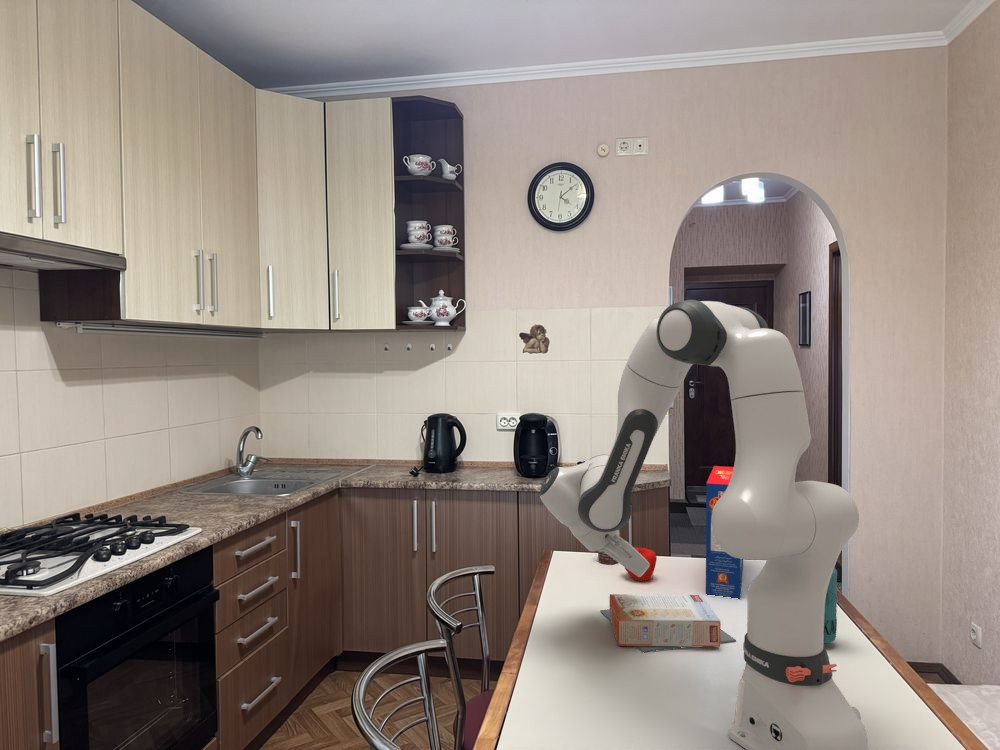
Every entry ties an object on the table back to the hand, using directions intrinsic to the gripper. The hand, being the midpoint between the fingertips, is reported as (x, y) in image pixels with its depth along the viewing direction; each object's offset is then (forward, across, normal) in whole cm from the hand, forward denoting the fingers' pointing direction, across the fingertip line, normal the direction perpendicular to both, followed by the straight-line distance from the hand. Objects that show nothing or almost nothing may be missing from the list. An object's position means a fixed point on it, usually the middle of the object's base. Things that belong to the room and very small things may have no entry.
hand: (640, 572), depth 144 cm
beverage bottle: (+32, -16, -14) cm, 38 cm away
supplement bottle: (+18, +46, 0) cm, 49 cm away
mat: (+13, 0, +5) cm, 14 cm away
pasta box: (+35, +24, -17) cm, 45 cm away
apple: (+19, +30, -1) cm, 36 cm away
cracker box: (+2, -1, +12) cm, 12 cm away
